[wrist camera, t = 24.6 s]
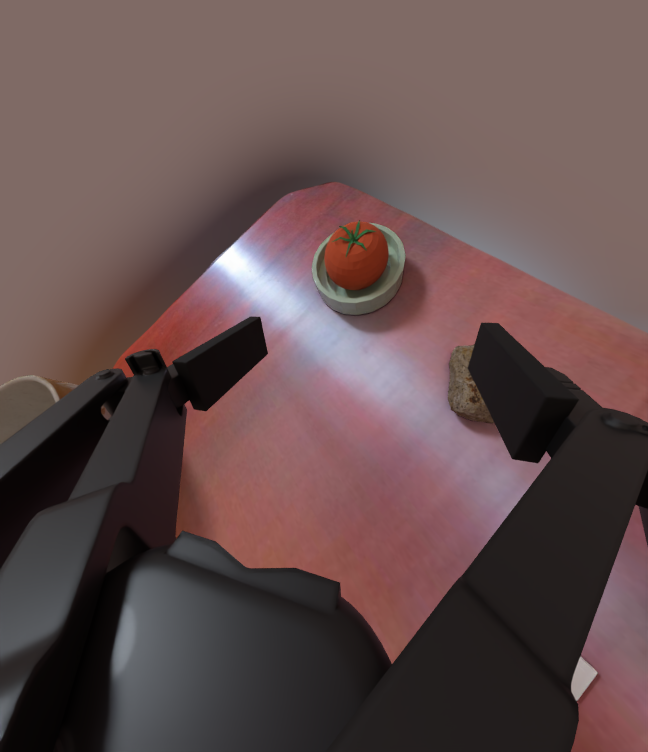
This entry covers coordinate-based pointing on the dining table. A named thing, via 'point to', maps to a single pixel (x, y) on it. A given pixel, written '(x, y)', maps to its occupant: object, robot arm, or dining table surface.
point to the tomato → (356, 255)
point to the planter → (29, 401)
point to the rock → (465, 388)
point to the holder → (367, 297)
